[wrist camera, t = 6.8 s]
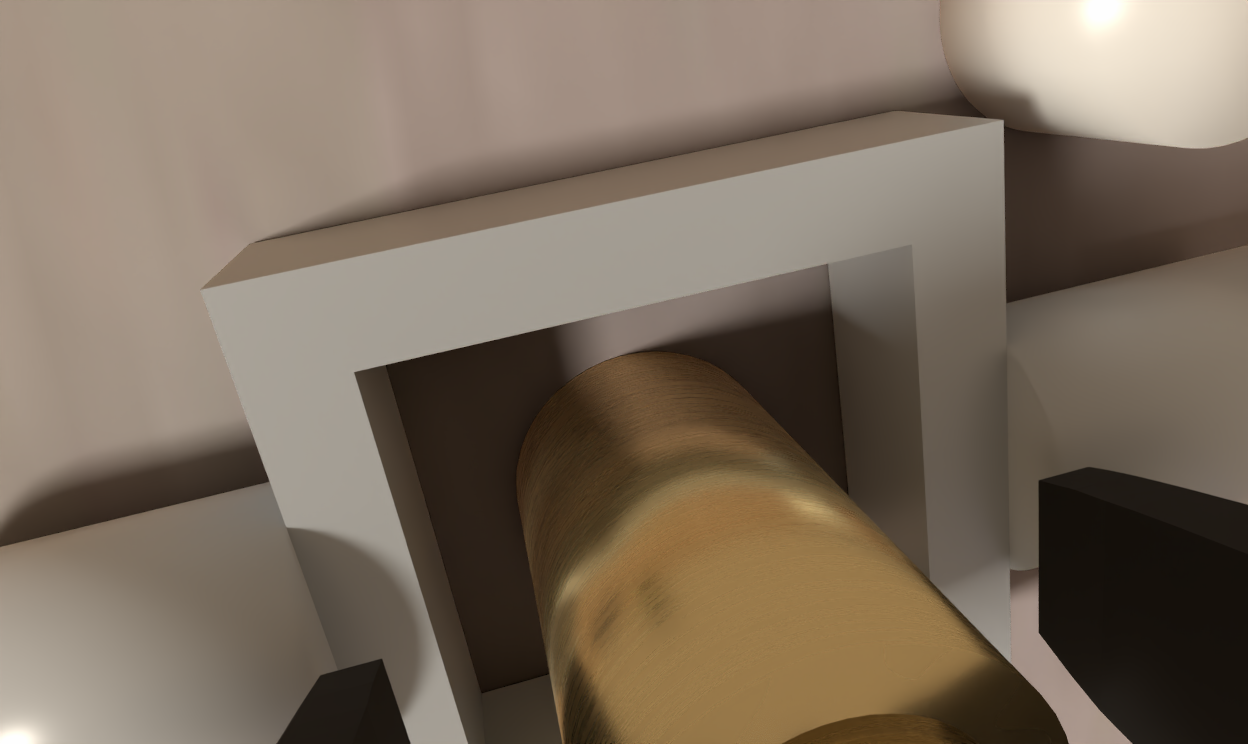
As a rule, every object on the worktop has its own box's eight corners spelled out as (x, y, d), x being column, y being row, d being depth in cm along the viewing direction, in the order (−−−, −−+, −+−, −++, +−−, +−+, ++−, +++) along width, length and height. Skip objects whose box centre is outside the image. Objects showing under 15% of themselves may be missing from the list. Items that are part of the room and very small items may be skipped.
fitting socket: (1207, 46, 13) (1477, 38, 10) (1173, 553, 16) (1367, 679, 13) (-178, 331, 10) (-468, 455, 7) (107, 864, 14) (0, 1123, 10)
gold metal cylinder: (768, 335, 13) (1162, 648, 6) (773, 566, 14) (1098, 1044, 7) (499, 371, 12) (584, 774, 5) (531, 609, 14) (631, 1182, 7)
